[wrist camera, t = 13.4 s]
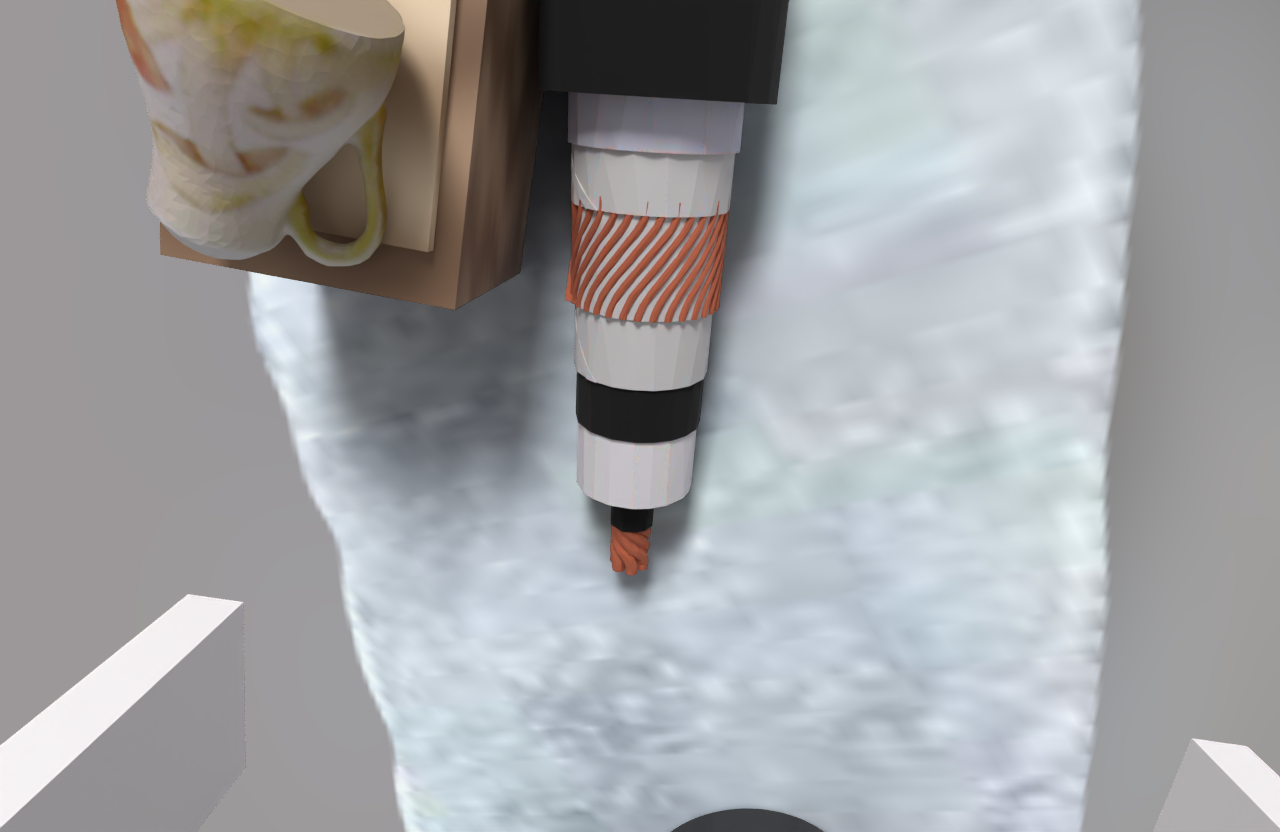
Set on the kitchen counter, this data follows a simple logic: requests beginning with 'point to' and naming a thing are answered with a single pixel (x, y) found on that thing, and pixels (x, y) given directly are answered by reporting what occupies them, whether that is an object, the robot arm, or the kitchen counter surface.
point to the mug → (261, 115)
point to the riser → (433, 163)
